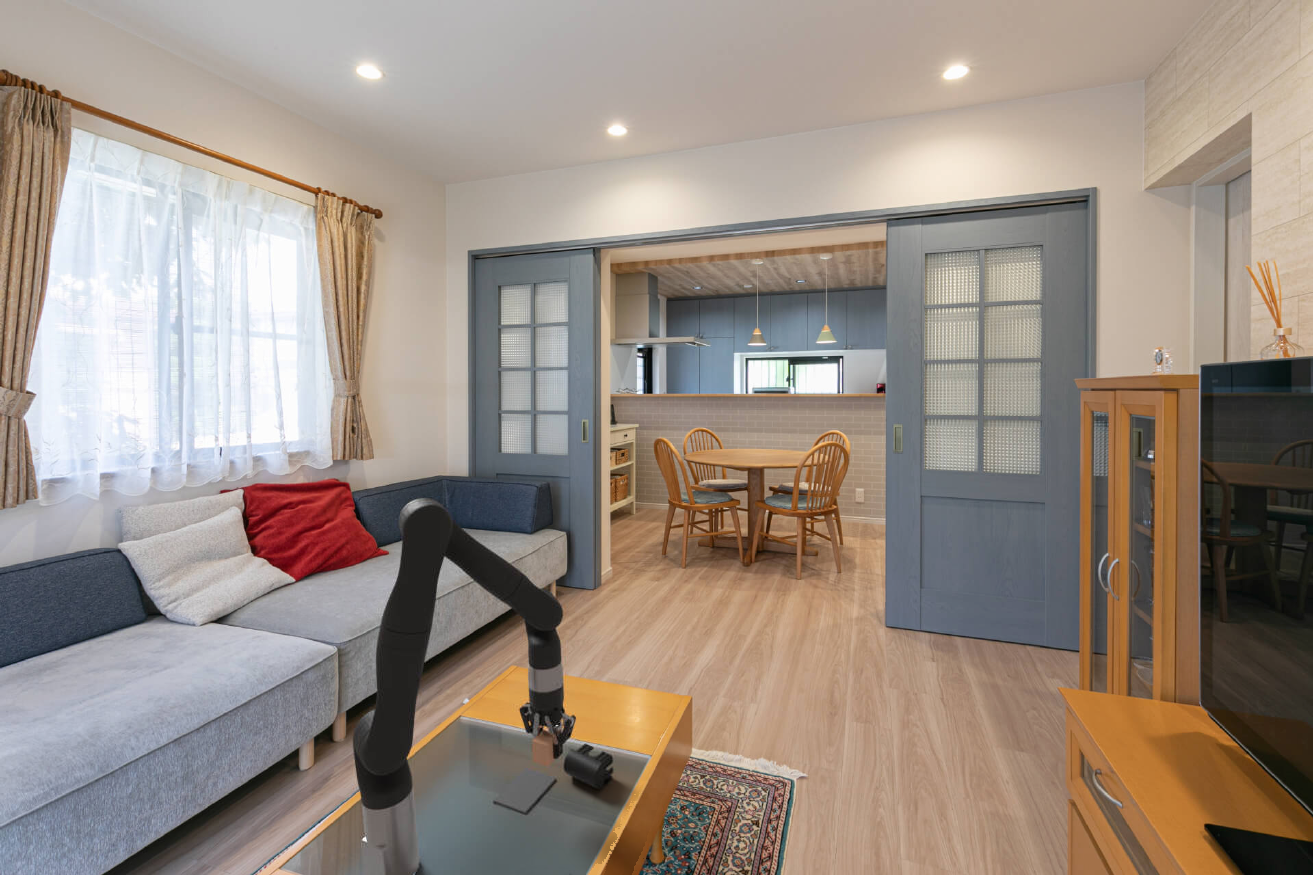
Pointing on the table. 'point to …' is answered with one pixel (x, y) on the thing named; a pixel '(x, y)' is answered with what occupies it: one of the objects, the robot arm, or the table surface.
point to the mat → (524, 790)
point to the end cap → (589, 766)
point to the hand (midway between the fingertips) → (548, 753)
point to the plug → (543, 748)
